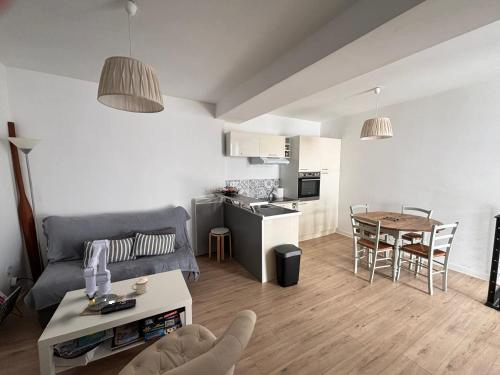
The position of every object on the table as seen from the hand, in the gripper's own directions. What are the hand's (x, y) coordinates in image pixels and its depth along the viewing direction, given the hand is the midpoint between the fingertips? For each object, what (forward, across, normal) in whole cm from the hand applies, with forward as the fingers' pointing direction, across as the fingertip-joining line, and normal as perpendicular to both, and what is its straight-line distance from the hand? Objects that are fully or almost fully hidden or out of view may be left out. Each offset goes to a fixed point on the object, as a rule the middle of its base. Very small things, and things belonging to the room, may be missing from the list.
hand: (91, 302), depth 148 cm
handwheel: (+4, 0, +7) cm, 8 cm away
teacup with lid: (+5, -2, +32) cm, 32 cm away
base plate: (+5, 0, +7) cm, 8 cm away
